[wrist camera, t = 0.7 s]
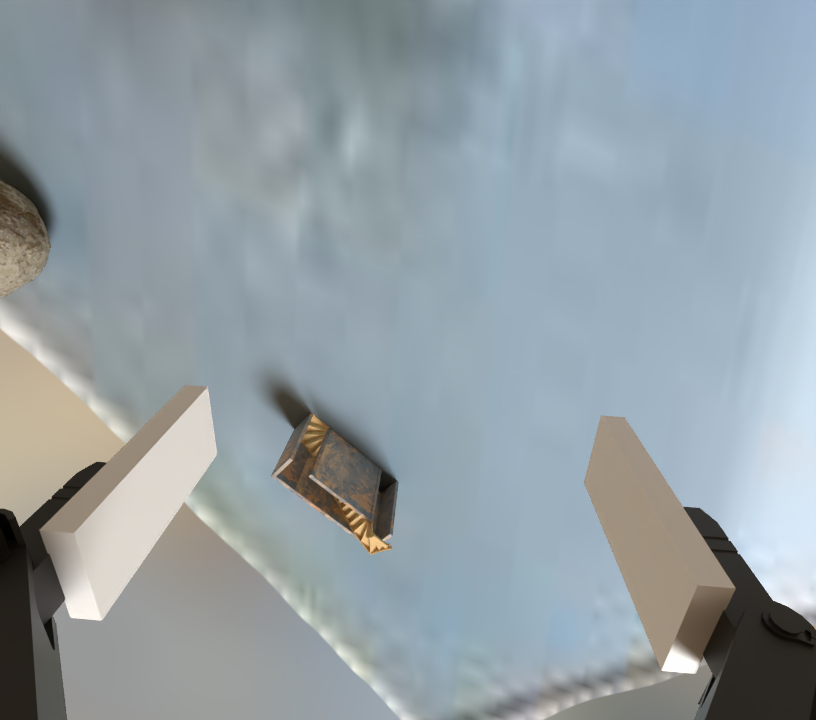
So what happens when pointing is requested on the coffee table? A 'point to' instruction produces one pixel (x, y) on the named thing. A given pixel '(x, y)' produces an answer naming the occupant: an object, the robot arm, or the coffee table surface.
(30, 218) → the decorative stone
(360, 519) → the ruin model on sheet
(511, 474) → the coffee table surface
